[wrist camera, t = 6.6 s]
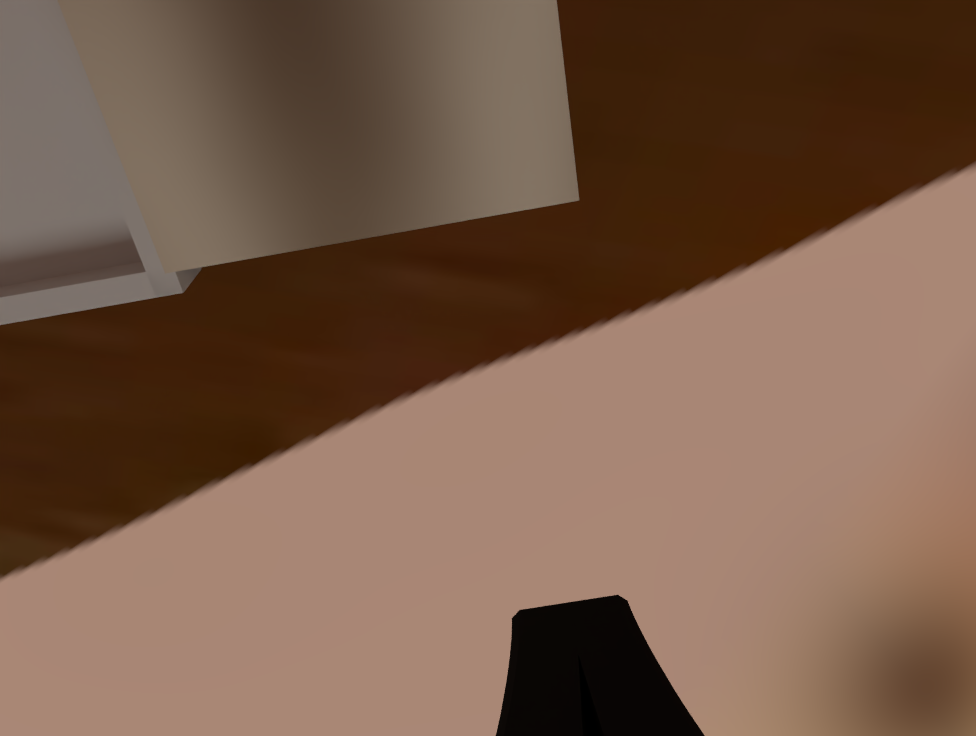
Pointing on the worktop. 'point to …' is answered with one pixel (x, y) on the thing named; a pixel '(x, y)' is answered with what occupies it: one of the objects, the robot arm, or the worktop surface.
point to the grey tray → (63, 182)
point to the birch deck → (326, 116)
